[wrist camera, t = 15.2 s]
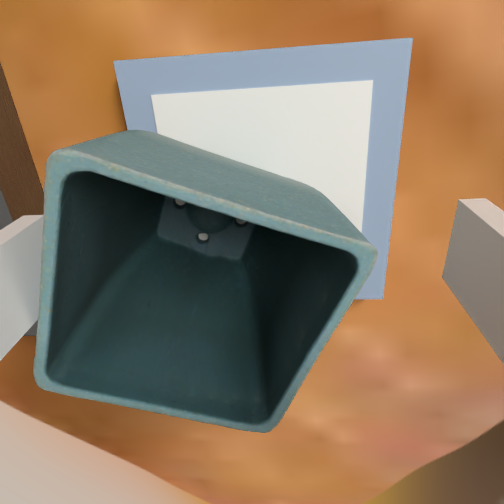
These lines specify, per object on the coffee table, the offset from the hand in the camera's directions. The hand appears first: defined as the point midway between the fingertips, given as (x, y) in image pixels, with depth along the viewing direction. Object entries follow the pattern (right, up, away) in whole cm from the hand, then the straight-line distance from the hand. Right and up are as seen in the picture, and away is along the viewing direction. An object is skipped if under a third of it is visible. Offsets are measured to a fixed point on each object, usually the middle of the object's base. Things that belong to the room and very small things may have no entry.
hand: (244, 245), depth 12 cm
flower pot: (-2, +2, +7) cm, 8 cm away
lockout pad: (+1, +3, +8) cm, 9 cm away
